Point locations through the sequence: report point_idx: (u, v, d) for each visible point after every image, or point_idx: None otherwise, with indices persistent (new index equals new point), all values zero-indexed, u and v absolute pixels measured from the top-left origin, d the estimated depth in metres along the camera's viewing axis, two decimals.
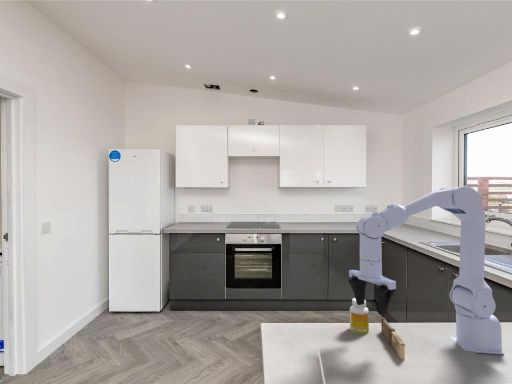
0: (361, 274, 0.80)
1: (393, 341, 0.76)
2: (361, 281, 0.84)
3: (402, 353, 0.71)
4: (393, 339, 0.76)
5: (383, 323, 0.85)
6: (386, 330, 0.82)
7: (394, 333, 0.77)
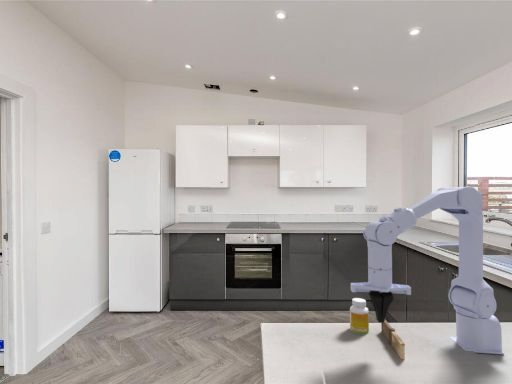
0: (380, 286, 0.72)
1: (393, 341, 0.76)
2: None
3: (402, 353, 0.71)
4: (393, 339, 0.76)
5: (383, 323, 0.85)
6: (386, 330, 0.82)
7: (394, 333, 0.77)
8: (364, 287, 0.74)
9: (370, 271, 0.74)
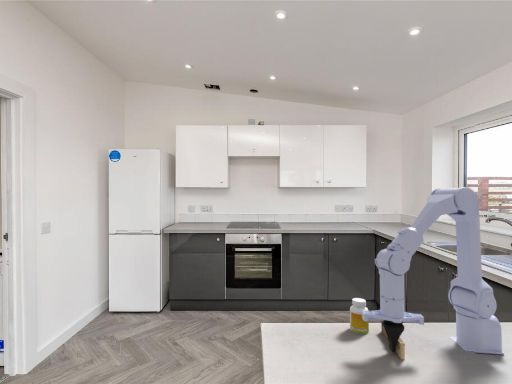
0: (392, 316, 0.72)
1: None
2: None
3: (402, 353, 0.71)
4: None
5: None
6: None
7: None
8: (376, 316, 0.73)
9: (382, 300, 0.74)
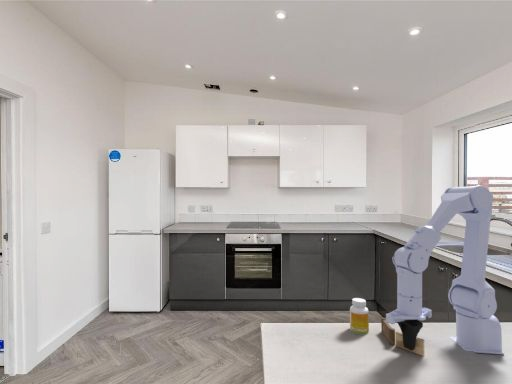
0: (416, 314, 0.72)
1: (402, 340, 0.77)
2: None
3: (423, 349, 0.73)
4: (401, 338, 0.77)
5: (383, 323, 0.85)
6: (386, 330, 0.82)
7: (400, 332, 0.77)
8: (403, 317, 0.71)
9: (405, 300, 0.73)
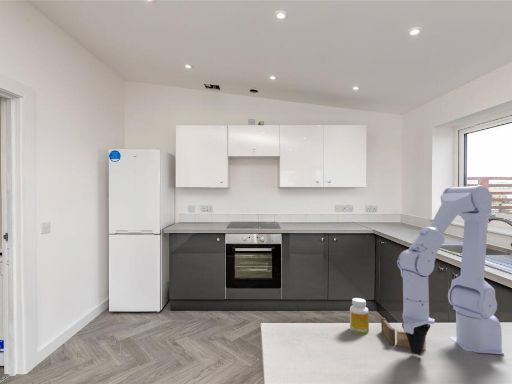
0: (427, 318, 0.71)
1: (403, 338, 0.78)
2: None
3: (425, 343, 0.76)
4: (403, 336, 0.78)
5: (383, 323, 0.85)
6: (386, 330, 0.82)
7: (401, 331, 0.78)
8: (419, 324, 0.69)
9: (417, 305, 0.70)
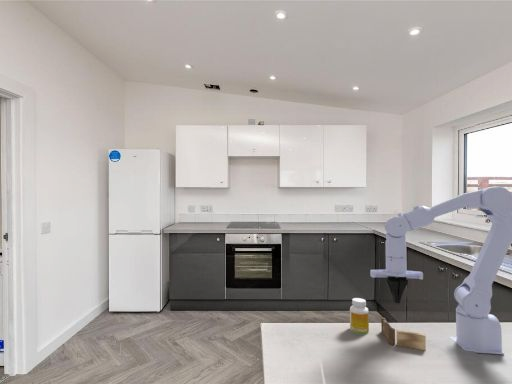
0: (396, 272, 0.84)
1: (403, 338, 0.78)
2: None
3: (425, 343, 0.76)
4: (403, 336, 0.78)
5: (383, 323, 0.85)
6: (386, 330, 0.82)
7: (401, 331, 0.78)
8: (383, 273, 0.86)
9: (388, 259, 0.86)
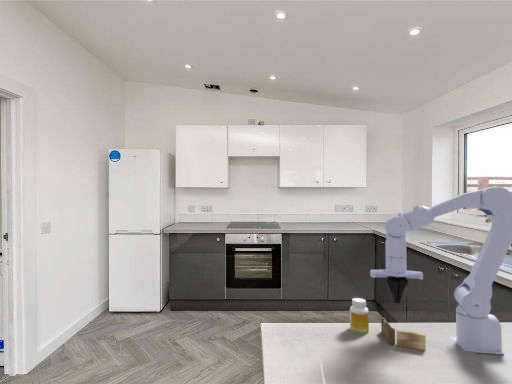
0: (396, 272, 0.84)
1: (403, 338, 0.78)
2: None
3: (425, 343, 0.76)
4: (403, 336, 0.78)
5: (383, 323, 0.85)
6: (386, 330, 0.82)
7: (401, 331, 0.78)
8: (383, 273, 0.86)
9: (388, 259, 0.86)
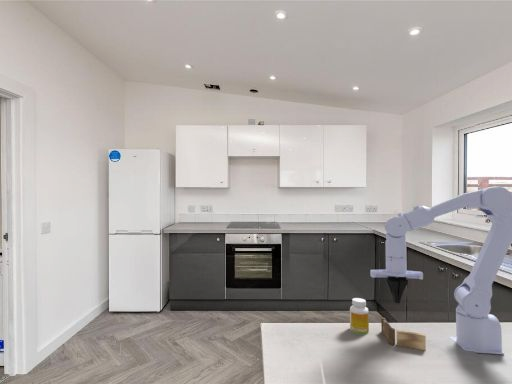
0: (396, 272, 0.84)
1: (403, 338, 0.78)
2: None
3: (425, 343, 0.76)
4: (403, 336, 0.78)
5: (383, 323, 0.85)
6: (386, 330, 0.82)
7: (401, 331, 0.78)
8: (383, 273, 0.86)
9: (388, 259, 0.86)
